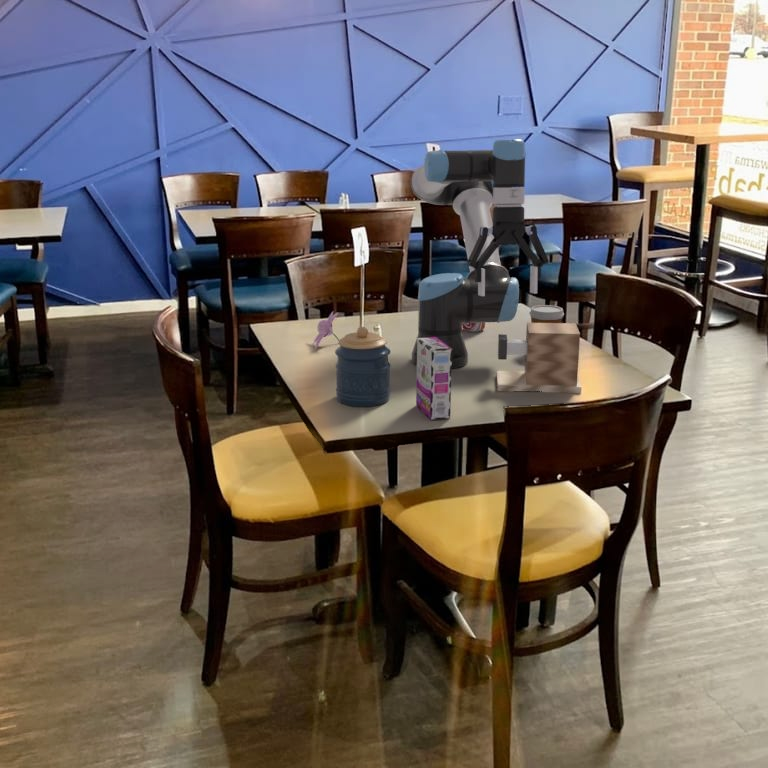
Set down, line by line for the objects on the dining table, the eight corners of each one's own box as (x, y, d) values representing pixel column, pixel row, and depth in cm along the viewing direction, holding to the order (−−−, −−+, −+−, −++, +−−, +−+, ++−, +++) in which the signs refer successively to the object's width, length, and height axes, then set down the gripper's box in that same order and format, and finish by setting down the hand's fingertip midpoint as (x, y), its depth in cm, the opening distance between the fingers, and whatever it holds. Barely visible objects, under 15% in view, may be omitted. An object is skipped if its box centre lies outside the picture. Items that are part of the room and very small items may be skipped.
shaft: (498, 359, 224) (498, 339, 223) (497, 353, 229) (498, 334, 228) (562, 360, 223) (563, 340, 222) (560, 355, 228) (561, 335, 226)
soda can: (486, 333, 275) (487, 293, 272) (462, 333, 275) (463, 293, 272) (483, 327, 282) (485, 288, 278) (461, 327, 282) (461, 288, 278)
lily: (322, 340, 273) (306, 315, 268) (356, 327, 269) (341, 301, 264) (315, 363, 263) (298, 337, 258) (351, 350, 259) (335, 324, 254)
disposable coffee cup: (552, 357, 251) (554, 314, 247) (521, 351, 256) (523, 309, 253) (568, 349, 258) (570, 307, 254) (537, 344, 263) (539, 303, 260)
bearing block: (497, 391, 223) (499, 333, 219) (496, 376, 235) (498, 321, 230) (581, 393, 222) (584, 335, 217) (575, 378, 233) (579, 322, 228)
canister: (401, 401, 217) (401, 328, 211) (354, 411, 210) (352, 337, 205) (371, 386, 227) (371, 317, 222) (326, 396, 221) (324, 325, 215)
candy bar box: (452, 419, 205) (453, 348, 200) (430, 421, 204) (431, 350, 199) (435, 403, 215) (436, 335, 210) (415, 405, 214) (415, 337, 209)
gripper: (464, 207, 213) (464, 298, 218) (563, 204, 219) (561, 293, 224) (454, 206, 220) (454, 295, 225) (550, 204, 226) (548, 290, 231)
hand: (507, 294), depth 224 cm, fingers open, 13 cm apart
